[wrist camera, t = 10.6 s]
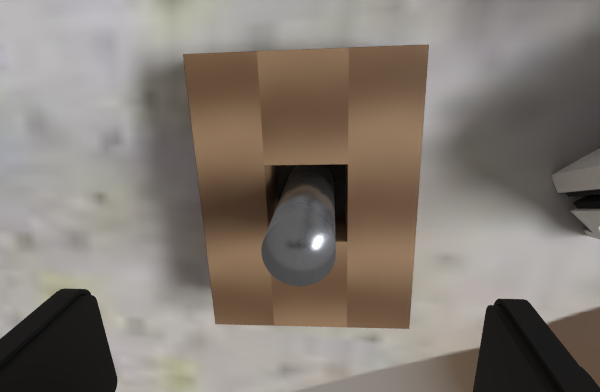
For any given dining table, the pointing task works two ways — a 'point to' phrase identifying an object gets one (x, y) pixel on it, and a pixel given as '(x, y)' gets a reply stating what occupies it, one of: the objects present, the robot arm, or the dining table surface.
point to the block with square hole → (310, 151)
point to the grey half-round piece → (583, 189)
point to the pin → (302, 228)
